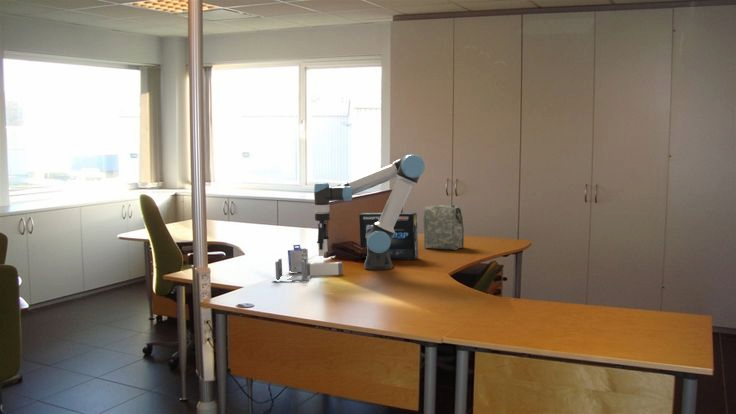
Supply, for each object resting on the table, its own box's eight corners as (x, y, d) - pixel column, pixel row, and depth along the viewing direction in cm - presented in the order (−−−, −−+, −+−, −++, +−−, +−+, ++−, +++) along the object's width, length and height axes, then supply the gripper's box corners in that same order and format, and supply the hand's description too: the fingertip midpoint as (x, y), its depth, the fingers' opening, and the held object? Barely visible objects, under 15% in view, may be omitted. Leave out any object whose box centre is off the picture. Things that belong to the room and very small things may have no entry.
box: (360, 258, 400) (358, 213, 398) (365, 256, 407) (363, 212, 405) (414, 260, 388) (413, 213, 385) (419, 258, 395) (417, 212, 392)
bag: (465, 247, 430) (464, 203, 427) (454, 250, 416) (453, 206, 414) (433, 245, 442) (432, 203, 439) (422, 249, 428) (420, 205, 426)
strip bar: (342, 273, 356) (342, 261, 356) (341, 274, 352) (341, 263, 352) (308, 274, 358) (307, 262, 357) (307, 275, 354) (306, 263, 353)
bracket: (311, 276, 349) (310, 257, 349) (308, 281, 338) (307, 261, 337) (276, 277, 351) (275, 258, 350) (272, 282, 339) (271, 262, 338)
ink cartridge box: (306, 270, 368) (304, 243, 367) (309, 272, 363) (308, 245, 362) (288, 272, 365) (287, 245, 363) (291, 274, 360) (290, 246, 358)
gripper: (318, 210, 365) (319, 250, 367) (311, 215, 340) (312, 257, 342) (332, 210, 364) (333, 249, 366) (326, 215, 339) (327, 257, 341)
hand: (323, 253), depth 354 cm, fingers open, 13 cm apart
